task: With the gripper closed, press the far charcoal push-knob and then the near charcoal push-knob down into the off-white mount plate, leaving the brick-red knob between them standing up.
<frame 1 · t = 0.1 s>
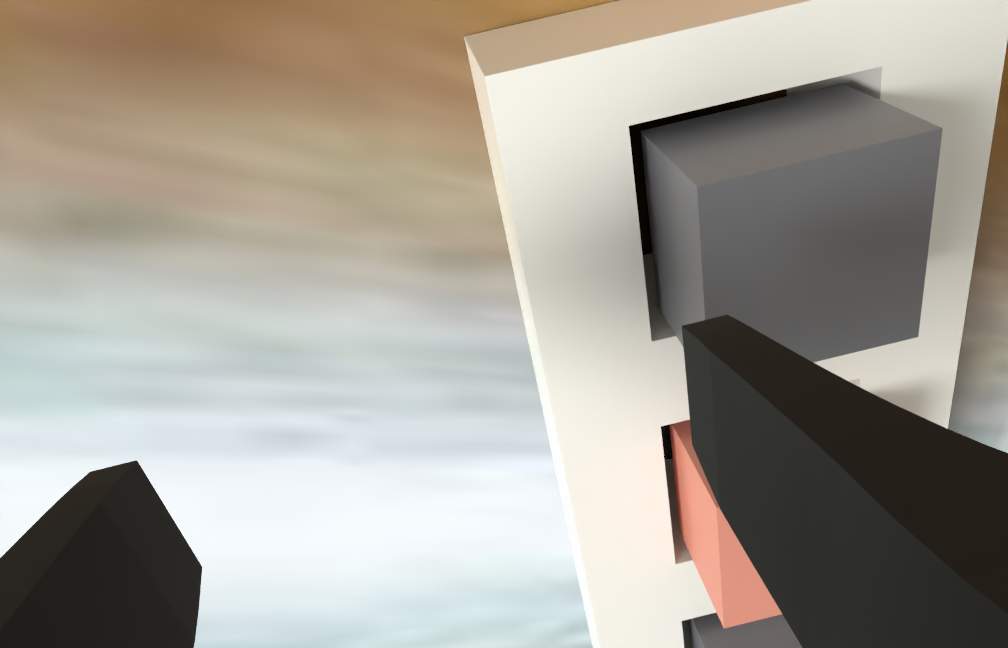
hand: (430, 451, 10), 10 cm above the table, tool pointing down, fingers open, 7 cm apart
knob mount: (705, 388, 23), on the table
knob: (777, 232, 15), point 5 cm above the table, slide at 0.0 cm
middle knob: (777, 501, 19), point 5 cm above the table, slide at 0.0 cm
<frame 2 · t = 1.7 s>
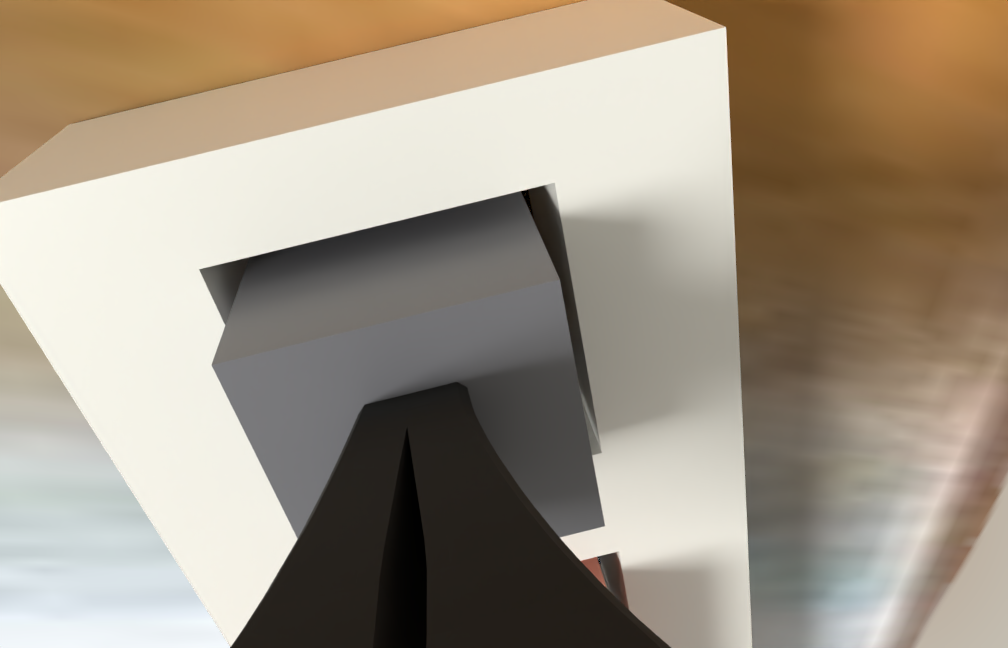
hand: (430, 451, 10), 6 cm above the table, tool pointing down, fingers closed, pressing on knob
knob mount: (491, 521, 19), on the table
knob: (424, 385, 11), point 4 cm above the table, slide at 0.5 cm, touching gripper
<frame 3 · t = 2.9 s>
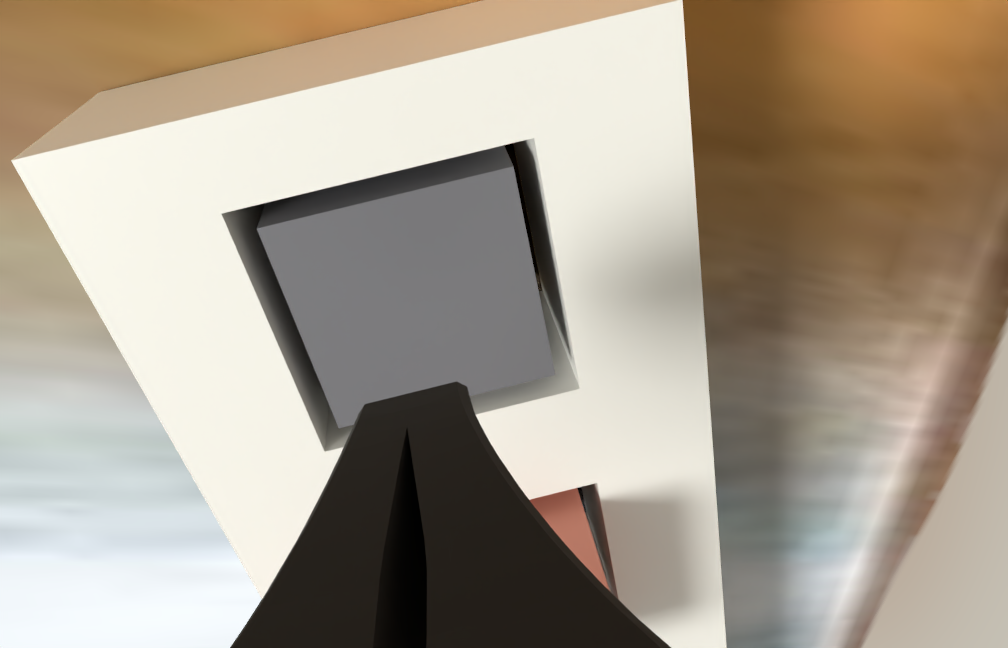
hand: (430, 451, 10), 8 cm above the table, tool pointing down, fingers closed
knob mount: (483, 469, 20), on the table
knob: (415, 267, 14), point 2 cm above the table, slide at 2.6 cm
middle knob: (509, 623, 16), point 5 cm above the table, slide at 0.0 cm
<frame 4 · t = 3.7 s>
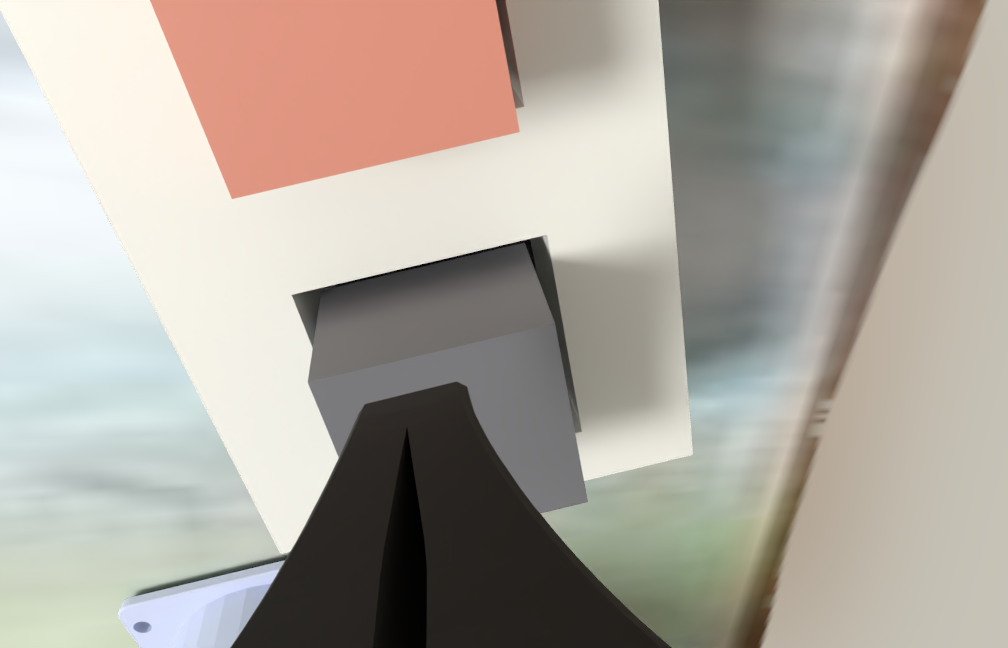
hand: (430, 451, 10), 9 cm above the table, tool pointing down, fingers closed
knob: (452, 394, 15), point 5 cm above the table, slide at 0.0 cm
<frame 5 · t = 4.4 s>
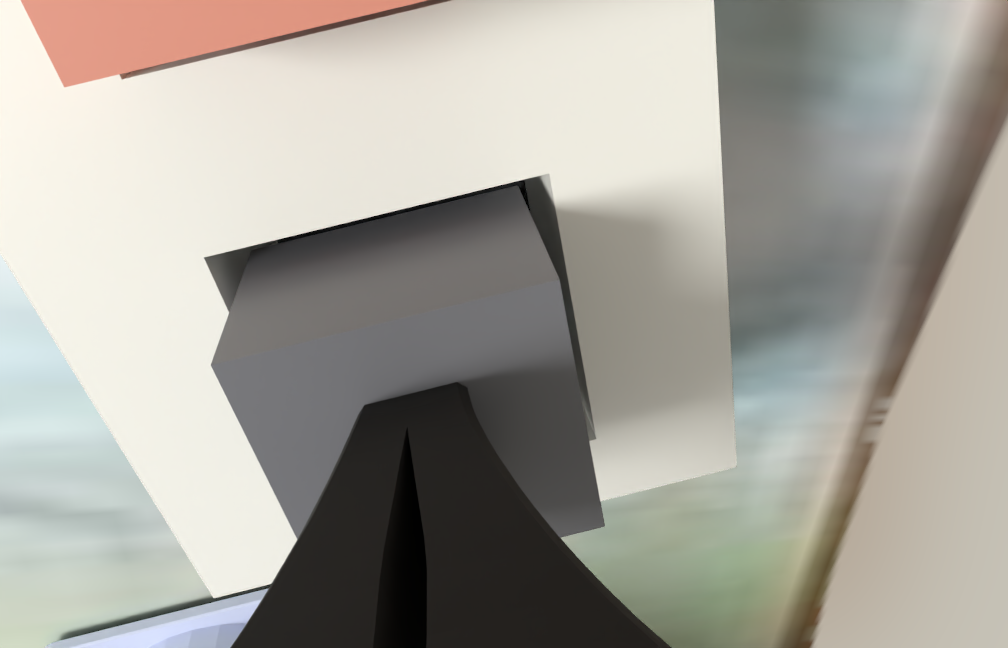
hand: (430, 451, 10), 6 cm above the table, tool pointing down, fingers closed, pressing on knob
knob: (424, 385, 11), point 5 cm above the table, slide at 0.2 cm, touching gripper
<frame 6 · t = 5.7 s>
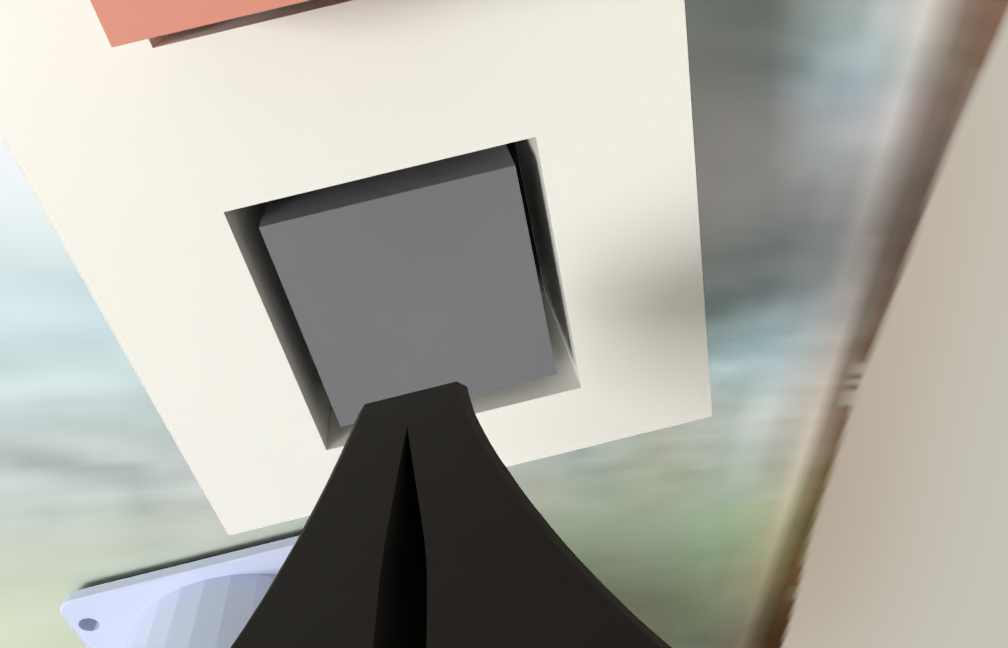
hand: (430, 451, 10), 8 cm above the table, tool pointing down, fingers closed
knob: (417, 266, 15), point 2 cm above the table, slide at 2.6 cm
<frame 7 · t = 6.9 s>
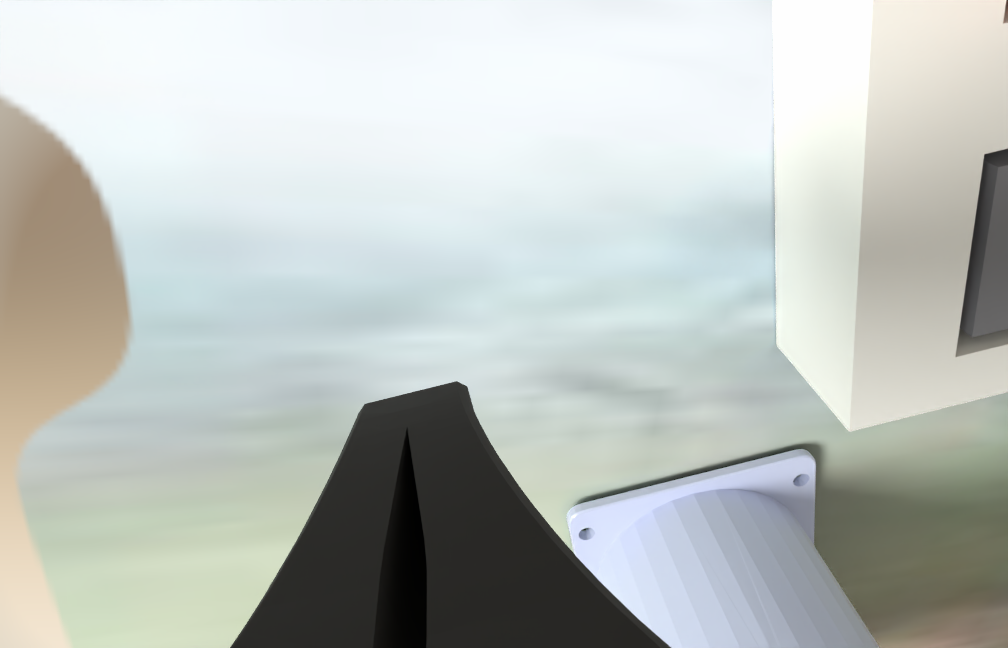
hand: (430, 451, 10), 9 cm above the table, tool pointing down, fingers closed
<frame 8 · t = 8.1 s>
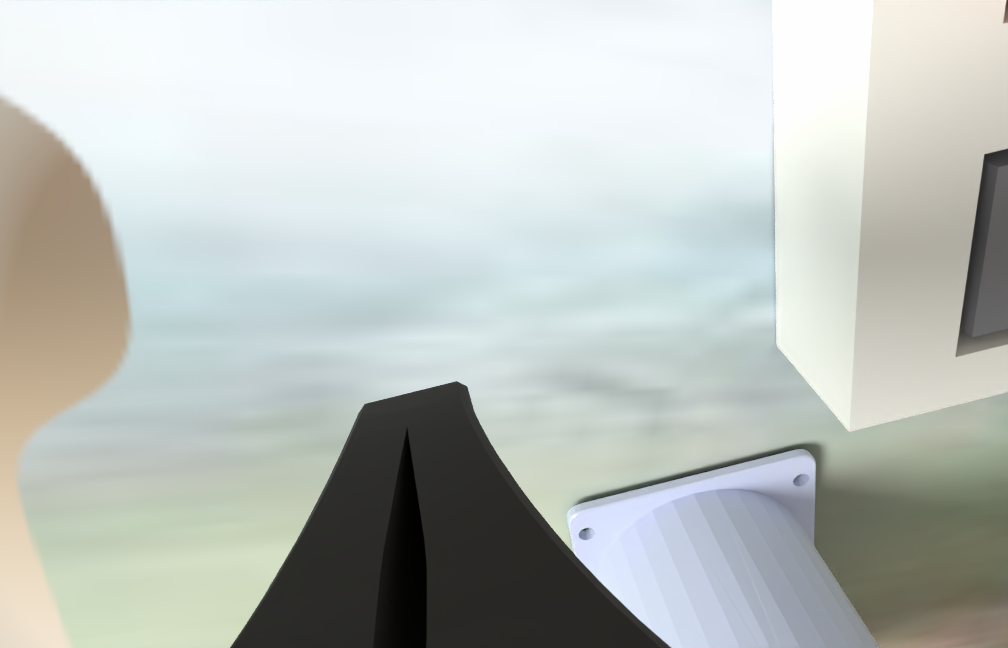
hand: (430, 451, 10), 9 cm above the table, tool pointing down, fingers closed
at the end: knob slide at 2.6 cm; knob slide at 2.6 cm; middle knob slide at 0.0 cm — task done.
